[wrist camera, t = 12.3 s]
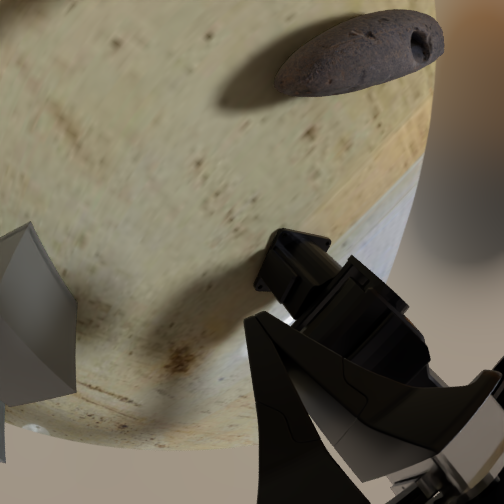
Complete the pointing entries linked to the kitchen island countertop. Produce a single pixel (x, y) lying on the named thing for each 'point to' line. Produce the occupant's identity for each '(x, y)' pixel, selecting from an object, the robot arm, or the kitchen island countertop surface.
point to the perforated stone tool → (362, 54)
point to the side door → (2, 432)
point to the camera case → (34, 323)
